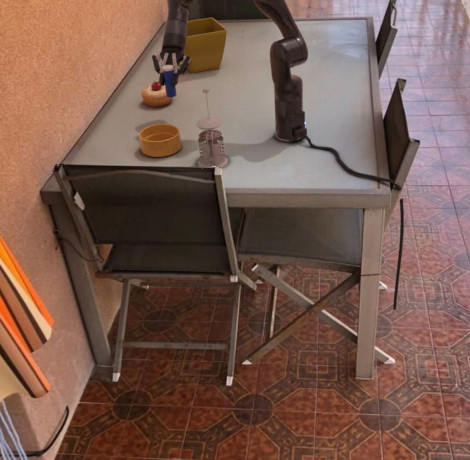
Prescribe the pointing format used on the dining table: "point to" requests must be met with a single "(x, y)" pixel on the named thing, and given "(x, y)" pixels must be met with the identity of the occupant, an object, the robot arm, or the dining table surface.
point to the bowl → (160, 140)
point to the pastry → (155, 95)
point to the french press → (210, 141)
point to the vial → (169, 80)
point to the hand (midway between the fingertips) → (167, 85)
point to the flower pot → (205, 44)
